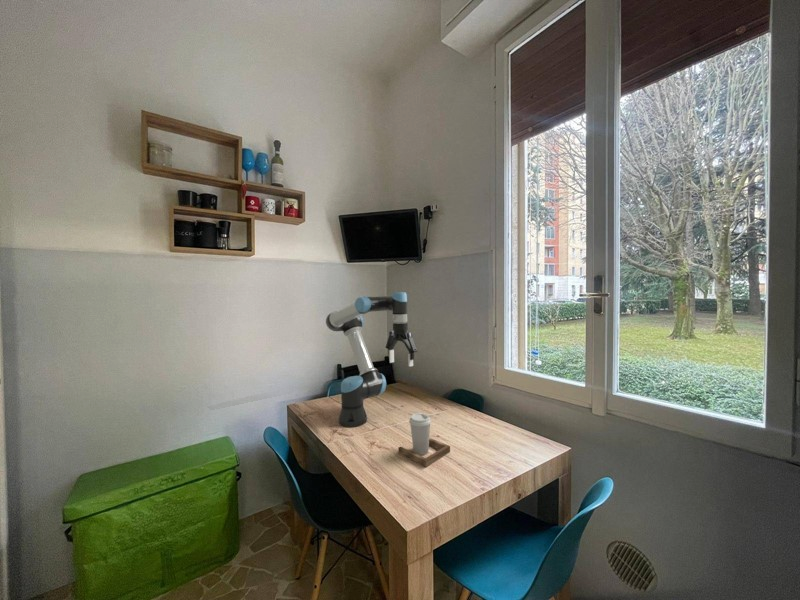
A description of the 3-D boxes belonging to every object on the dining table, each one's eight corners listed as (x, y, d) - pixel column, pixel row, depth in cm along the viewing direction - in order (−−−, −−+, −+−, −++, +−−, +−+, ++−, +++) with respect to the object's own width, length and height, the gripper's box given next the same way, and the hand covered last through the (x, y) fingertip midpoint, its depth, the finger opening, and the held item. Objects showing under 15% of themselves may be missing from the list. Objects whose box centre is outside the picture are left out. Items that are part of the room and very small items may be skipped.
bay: (398, 453, 130) (398, 447, 130) (422, 440, 142) (422, 434, 142) (426, 467, 120) (426, 461, 120) (450, 451, 131) (450, 446, 131)
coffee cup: (430, 457, 126) (429, 422, 126) (408, 455, 128) (407, 420, 128) (433, 446, 136) (432, 413, 136) (411, 444, 138) (411, 412, 137)
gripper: (378, 322, 160) (379, 362, 161) (413, 324, 143) (414, 369, 143) (388, 320, 166) (389, 359, 166) (423, 323, 148) (424, 366, 149)
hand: (401, 364), depth 155 cm, fingers open, 13 cm apart
